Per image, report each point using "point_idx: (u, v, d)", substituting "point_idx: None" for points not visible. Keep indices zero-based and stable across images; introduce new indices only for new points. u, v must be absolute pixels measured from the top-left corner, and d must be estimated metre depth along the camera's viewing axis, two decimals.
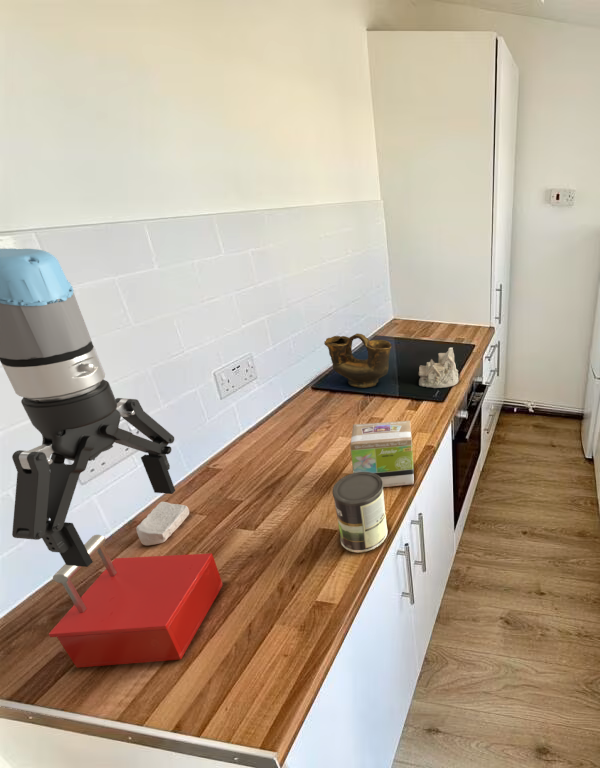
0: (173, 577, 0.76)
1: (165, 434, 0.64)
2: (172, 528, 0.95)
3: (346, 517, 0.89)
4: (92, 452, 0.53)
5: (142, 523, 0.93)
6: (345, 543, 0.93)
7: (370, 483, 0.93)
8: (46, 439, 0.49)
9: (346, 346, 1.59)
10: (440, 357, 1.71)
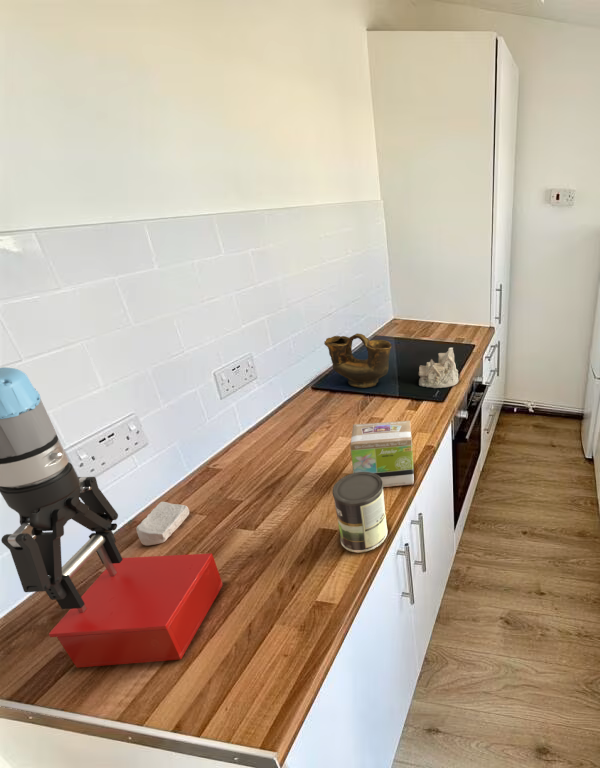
0: (173, 577, 0.76)
1: (111, 511, 0.74)
2: (172, 529, 0.95)
3: (346, 517, 0.89)
4: None
5: (142, 523, 0.93)
6: (345, 543, 0.93)
7: (370, 483, 0.93)
8: (23, 517, 0.61)
9: (346, 346, 1.59)
10: (440, 357, 1.71)
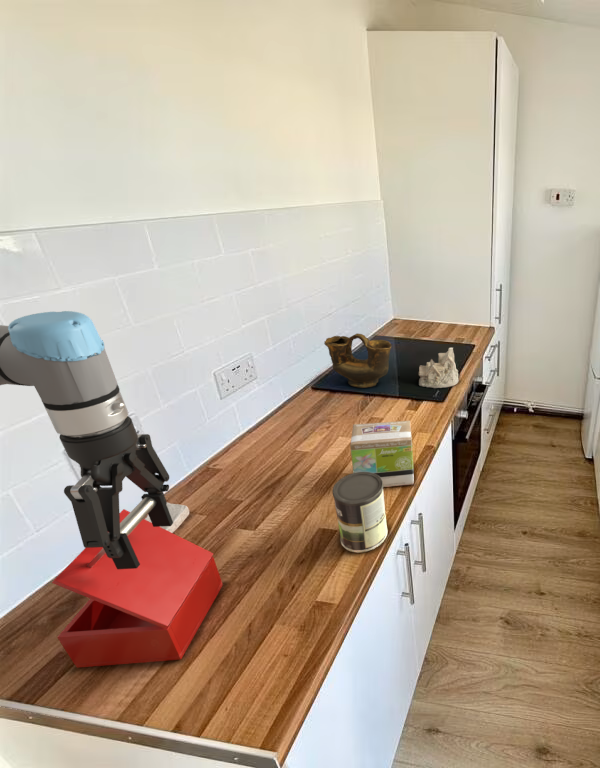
0: (177, 566, 0.75)
1: (163, 471, 0.72)
2: (172, 529, 0.95)
3: (346, 517, 0.89)
4: None
5: None
6: (345, 543, 0.93)
7: (370, 483, 0.93)
8: (84, 469, 0.58)
9: (346, 346, 1.59)
10: (440, 357, 1.71)
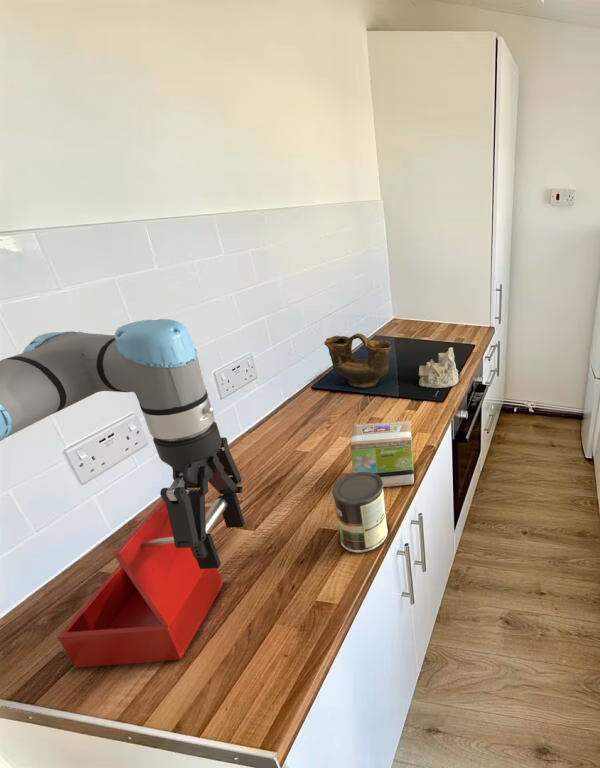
0: (191, 562, 0.75)
1: (237, 474, 0.74)
2: None
3: (346, 517, 0.89)
4: None
5: None
6: (345, 543, 0.93)
7: (370, 483, 0.93)
8: (176, 471, 0.60)
9: (346, 346, 1.59)
10: (440, 357, 1.71)
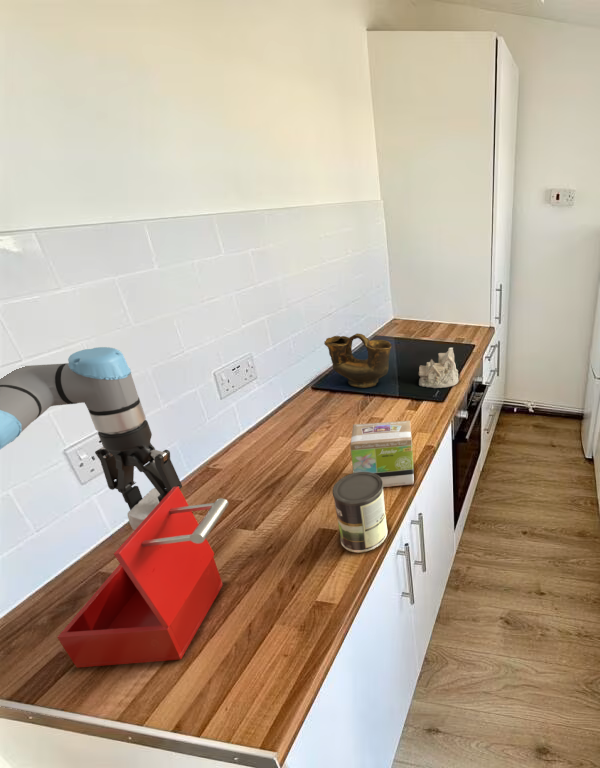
0: (191, 561, 0.75)
1: None
2: None
3: (346, 517, 0.89)
4: None
5: (133, 509, 0.91)
6: (345, 543, 0.93)
7: (370, 483, 0.93)
8: (146, 448, 0.86)
9: (346, 346, 1.59)
10: (440, 357, 1.71)
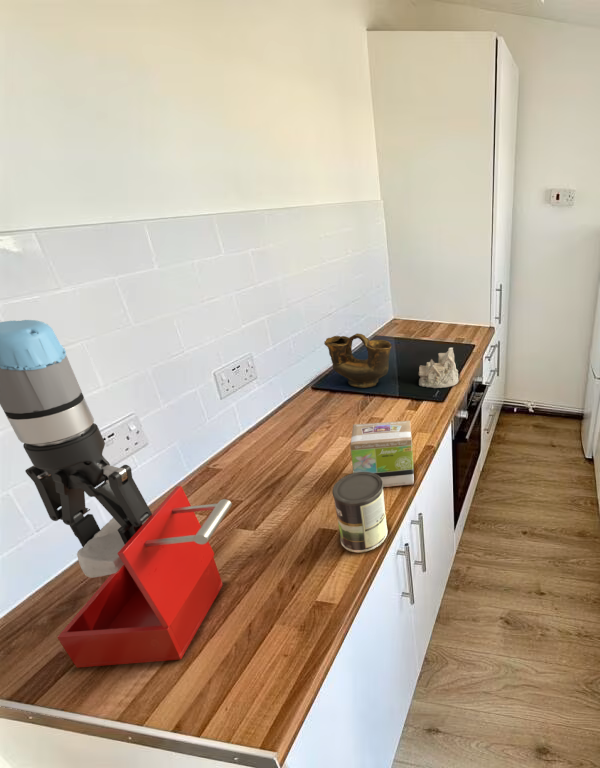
0: (192, 561, 0.75)
1: None
2: None
3: (346, 517, 0.89)
4: None
5: (86, 546, 0.66)
6: (345, 543, 0.93)
7: (370, 483, 0.93)
8: (96, 463, 0.62)
9: (346, 346, 1.59)
10: (440, 357, 1.71)
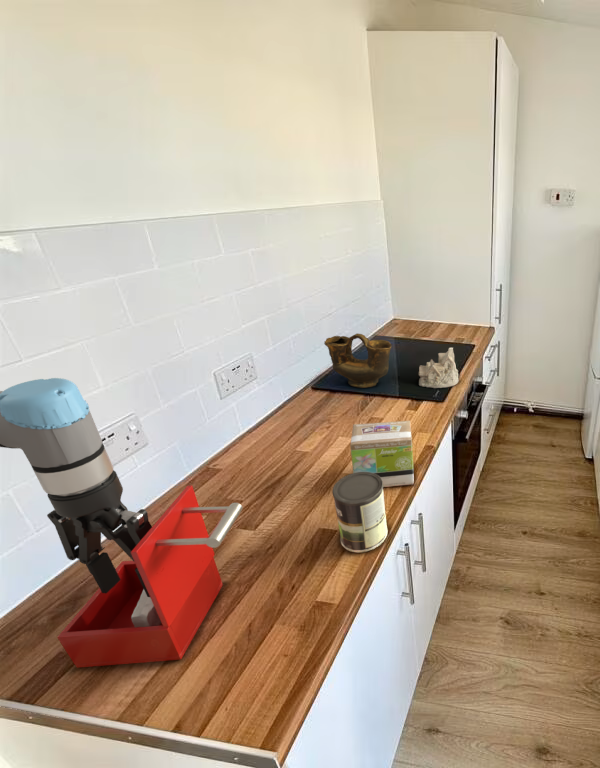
0: (194, 561, 0.75)
1: None
2: (146, 600, 0.74)
3: (346, 517, 0.89)
4: None
5: None
6: (345, 543, 0.93)
7: (370, 483, 0.93)
8: (115, 509, 0.65)
9: (346, 346, 1.59)
10: (440, 357, 1.71)
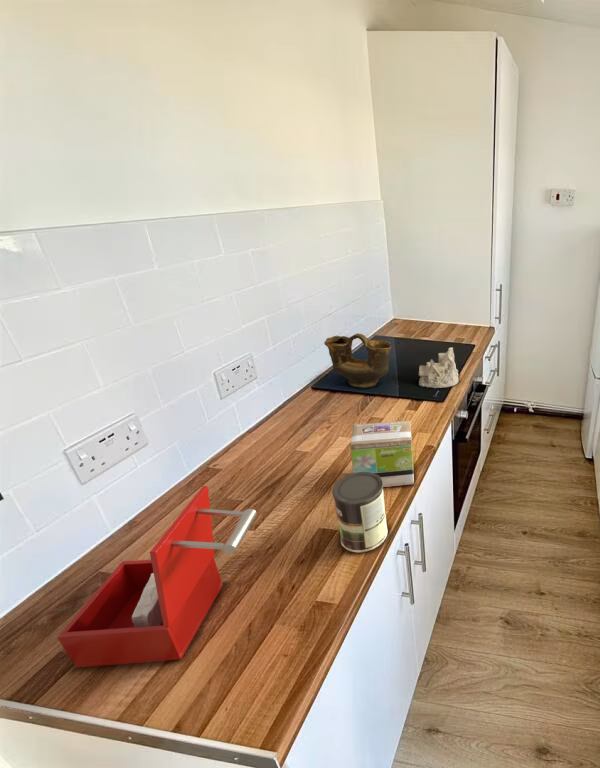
0: (198, 562, 0.75)
1: None
2: (146, 600, 0.74)
3: (346, 517, 0.89)
4: None
5: None
6: (345, 543, 0.93)
7: (370, 483, 0.93)
8: None
9: (346, 346, 1.59)
10: (440, 357, 1.71)
